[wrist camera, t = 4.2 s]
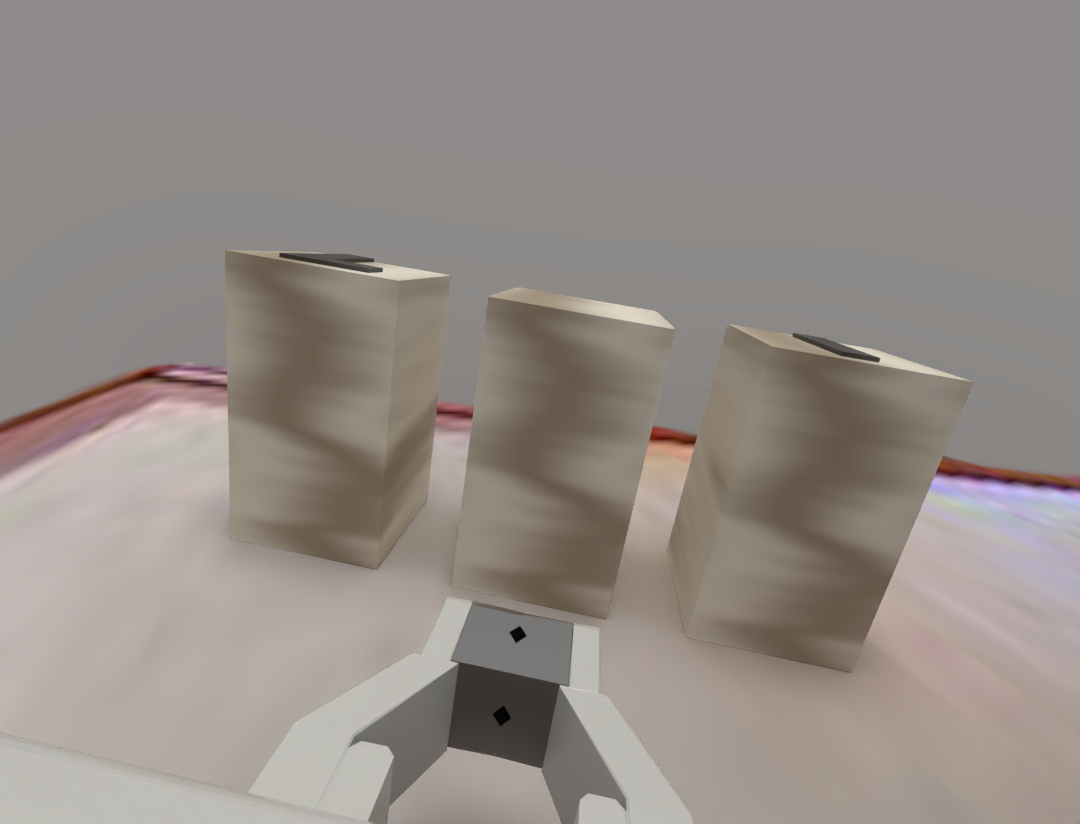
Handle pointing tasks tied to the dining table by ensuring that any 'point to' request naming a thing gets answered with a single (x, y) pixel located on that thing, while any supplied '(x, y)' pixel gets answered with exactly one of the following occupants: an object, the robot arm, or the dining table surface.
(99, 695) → the dining table surface
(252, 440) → the block seven
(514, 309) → the plain block
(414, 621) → the dining table surface
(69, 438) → the dining table surface
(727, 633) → the block one
